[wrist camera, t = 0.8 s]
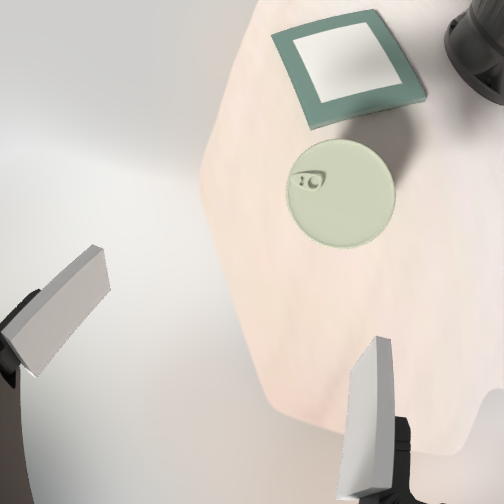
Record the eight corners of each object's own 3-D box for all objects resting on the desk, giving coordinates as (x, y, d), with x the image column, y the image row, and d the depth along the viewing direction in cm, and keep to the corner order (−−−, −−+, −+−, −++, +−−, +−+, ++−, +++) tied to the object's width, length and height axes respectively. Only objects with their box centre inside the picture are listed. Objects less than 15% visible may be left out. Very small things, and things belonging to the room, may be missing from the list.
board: (373, 14, 28) (373, 8, 27) (424, 101, 28) (427, 96, 26) (273, 40, 33) (270, 34, 32) (310, 130, 33) (308, 126, 32)
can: (316, 157, 33) (300, 124, 22) (389, 179, 31) (408, 155, 20) (296, 229, 35) (270, 230, 24) (368, 253, 32) (378, 266, 21)
